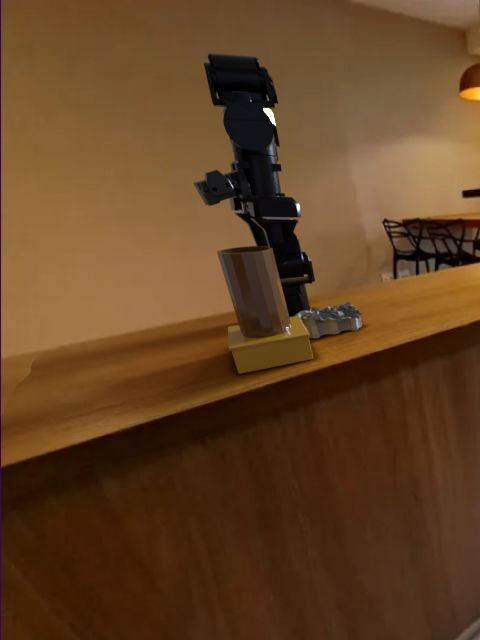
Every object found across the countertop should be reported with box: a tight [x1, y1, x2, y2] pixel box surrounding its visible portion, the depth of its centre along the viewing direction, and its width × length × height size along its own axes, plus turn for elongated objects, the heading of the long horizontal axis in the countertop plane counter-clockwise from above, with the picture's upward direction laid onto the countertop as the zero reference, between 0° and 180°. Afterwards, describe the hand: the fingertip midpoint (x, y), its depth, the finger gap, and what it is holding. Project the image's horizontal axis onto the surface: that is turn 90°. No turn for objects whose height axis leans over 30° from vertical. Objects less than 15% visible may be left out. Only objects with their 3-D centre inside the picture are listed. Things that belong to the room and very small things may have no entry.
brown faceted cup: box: [216, 245, 291, 338], centre depth 64 cm, size 7×7×12 cm
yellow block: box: [227, 316, 314, 375], centre depth 68 cm, size 11×10×4 cm
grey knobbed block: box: [295, 301, 363, 339], centre depth 79 cm, size 11×8×4 cm
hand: (271, 260), depth 73 cm, fingers open, 9 cm apart
